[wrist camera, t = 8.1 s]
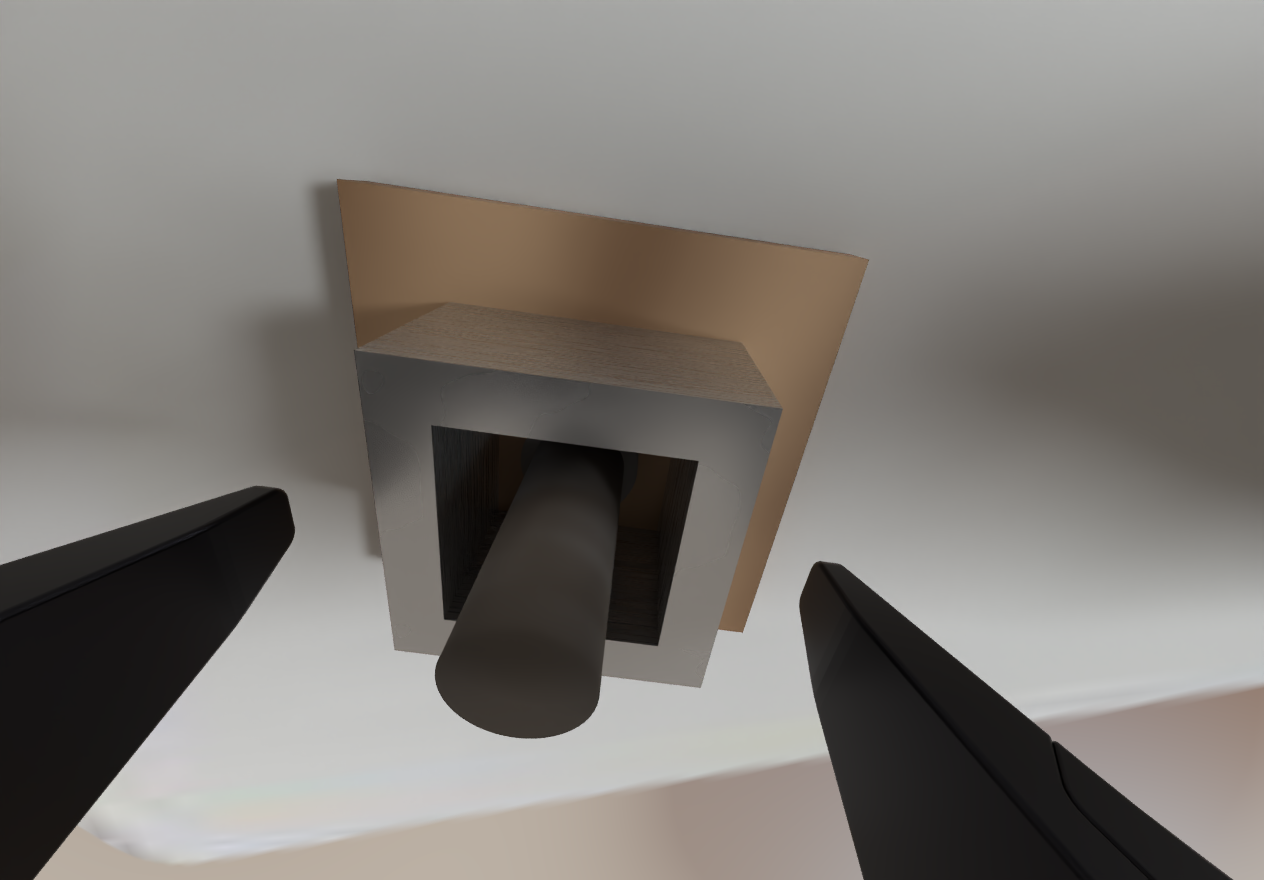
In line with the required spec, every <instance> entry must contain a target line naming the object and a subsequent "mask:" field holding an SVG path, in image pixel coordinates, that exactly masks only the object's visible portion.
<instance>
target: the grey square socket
mask: <svg viewBox="0 0 1264 880" xmlns="http://www.w3.org/2000/svg"><path fill="white" fill-rule="evenodd" d="M354 353H355V360H356V368H357V375H358V382H359V390H360V397H361V405H362V412H363V419H364V427H365V434H366V442H367V449H368V456H369V464H370V471H371V479H372V486H373V493H374V501H375V508H376V516H377V523H378V530H379V538H380V545H381V553H382V560H383V567H384V575H385V582H386V590H387V597H388V604H389V612H390V619H391V627H392V634H393V641H394V649H395V650H398V651H406V652H414V653H422V654H430V655H438V656H440V655H441V653H442V651H443V649H444V647H445V644H446V642H447V640H448V638H449V636H450V634H451V632H452V629H453V627H454V625H455V623H456V621H457V619H458V617H459V614H460V612H461V610H462V608H463V606H464V604H465V602H466V600H467V597H468V595H469V593H470V591H471V589H472V587H473V585H474V582H475V580H476V578H477V576H478V574H479V572H480V570H481V567H482V565H483V563H484V561H485V559H486V557H487V555H488V552H489V550H490V548H491V546H492V544H493V542H494V540H495V538H496V535H497V533H498V531H499V529H500V527H501V525H502V523H503V520H504V518H505V516H506V514H507V512H508V511H501V510H498V507H499V434H501V435H508V436H516V437H523V438H531V439H538V440H546V441H553V442H561V443H568V444H576V445H583V446H591V447H598V448H606V449H613V450H621V451H628V452H636V453H643V454H651V455H658V456H666V457H671V459H670V464H669V470H668V475H667V480H666V485H665V491H664V496H663V501H662V507H661V512H660V517H659V522H658V528H657V531H655V530H647V529H639V528H632V527H624V526H618V530H617V539H616V548H615V557H614V566H613V575H612V585H611V594H610V603H609V612H608V621H607V630H606V639H605V649H604V658H603V667H602V676H609V677H617V678H625V679H633V680H641V681H649V682H657V683H666V684H674V685H682V686H690V687H698V688H701V685H702V681H703V678H704V675H705V671H706V668H707V665H708V661H709V658H710V654H711V651H712V648H713V644H714V641H715V637H716V634H717V631H718V627H719V624H720V620H721V617H722V614H723V610H724V607H725V604H726V600H727V597H728V593H729V590H730V587H731V583H732V580H733V576H734V573H735V570H736V566H737V563H738V559H739V556H740V553H741V549H742V546H743V543H744V539H745V536H746V532H747V529H748V526H749V522H750V519H751V515H752V512H753V509H754V505H755V502H756V498H757V495H758V492H759V488H760V485H761V482H762V478H763V475H764V471H765V468H766V465H767V461H768V458H769V454H770V451H771V448H772V444H773V441H774V437H775V434H776V431H777V427H778V424H779V421H780V417H781V414H782V410H783V408H782V406H781V405H780V403H779V402H778V400H777V398H776V397H775V395H774V393H773V392H772V390H771V389H770V387H769V385H768V384H767V382H766V381H765V379H764V377H763V376H762V374H761V372H760V371H759V369H758V368H757V366H756V364H755V363H754V361H753V359H752V358H751V356H750V355H749V353H748V351H747V350H746V348H745V347H744V345H743V343H742V342H735V341H728V340H721V339H713V338H706V337H699V336H692V335H685V334H678V333H670V332H663V331H656V330H649V329H642V328H634V327H627V326H620V325H613V324H606V323H599V322H591V321H584V320H577V319H570V318H563V317H556V316H548V315H541V314H534V313H527V312H520V311H512V310H505V309H498V308H491V307H484V306H477V305H469V304H462V303H455V302H449V303H447V304H445V305H443V306H441V307H439V308H437V309H435V310H433V311H431V312H429V313H427V314H425V315H423V316H421V317H419V318H417V319H415V320H413V321H411V322H409V323H407V324H405V325H403V326H401V327H399V328H397V329H395V330H393V331H391V332H389V333H387V334H385V335H383V336H381V337H379V338H377V339H375V340H373V341H371V342H369V343H367V344H366V345H364V346H362V347H360V348H358V349H356V350H354Z"/></svg>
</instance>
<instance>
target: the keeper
mask: <svg viewBox="0 0 1264 880" xmlns="http://www.w3.org/2000/svg"><path fill="white" fill-rule="evenodd" d="M337 186H338V194H339V202H340V210H341V218H342V226H343V234H344V242H345V250H346V258H347V266H348V274H349V282H350V290H351V298H352V306H353V314H354V322H355V330H356V338H357V346H358V348H360V347H362V346H364V345H366V344H367V343H369V342H371V341H373V340H375V339H377V338H379V337H381V336H383V335H385V334H387V333H389V332H391V331H393V330H395V329H397V328H399V327H401V326H403V325H405V324H407V323H409V322H411V321H413V320H415V319H417V318H419V317H421V316H423V315H425V314H427V313H429V312H431V311H433V310H435V309H437V308H439V307H441V306H443V305H445V304H447V303H449V302H455V303H462V304H469V305H477V306H484V307H491V308H498V309H505V310H512V311H520V312H527V313H534V314H541V315H548V316H556V317H563V318H570V319H577V320H584V321H591V322H599V323H606V324H613V325H620V326H627V327H634V328H642V329H649V330H656V331H663V332H670V333H678V334H685V335H692V336H699V337H706V338H713V339H721V340H728V341H735V342H742V343H743V345H744V347H745V348H746V350H747V351H748V353H749V355H750V356H751V358H752V359H753V361H754V363H755V364H756V366H757V368H758V369H759V371H760V372H761V374H762V376H763V377H764V379H765V381H766V382H767V384H768V385H769V387H770V389H771V390H772V392H773V393H774V395H775V397H776V398H777V400H778V402H779V403H780V405H781V406H782V408H783V410H782V414H781V417H780V421H779V424H778V427H777V431H776V434H775V437H774V441H773V444H772V448H771V451H770V454H769V458H768V461H767V465H766V468H765V471H764V475H763V478H762V482H761V485H760V488H759V492H758V495H757V498H756V502H755V505H754V509H753V512H752V515H751V519H750V522H749V526H748V529H747V532H746V536H745V539H744V543H743V546H742V549H741V553H740V556H739V559H738V563H737V566H736V570H735V573H734V576H733V580H732V583H731V587H730V590H729V593H728V597H727V600H726V604H725V607H724V610H723V614H722V617H721V620H720V624H719V627H718V629H720V630H727V631H735V632H742V633H743V630H744V627H745V624H746V621H747V618H748V615H749V613H750V610H751V607H752V604H753V601H754V598H755V595H756V592H757V589H758V586H759V583H760V580H761V577H762V574H763V571H764V568H765V565H766V562H767V559H768V556H769V554H770V551H771V548H772V545H773V542H774V539H775V536H776V533H777V530H778V527H779V524H780V521H781V518H782V515H783V512H784V509H785V506H786V503H787V500H788V497H789V494H790V492H791V489H792V486H793V483H794V480H795V477H796V474H797V471H798V468H799V465H800V462H801V459H802V456H803V453H804V450H805V447H806V444H807V441H808V438H809V435H810V432H811V430H812V427H813V424H814V421H815V418H816V415H817V412H818V409H819V406H820V403H821V400H822V397H823V394H824V391H825V388H826V385H827V382H828V379H829V376H830V373H831V371H832V368H833V365H834V362H835V359H836V356H837V353H838V350H839V347H840V344H841V341H842V338H843V335H844V332H845V329H846V326H847V323H848V320H849V317H850V314H851V311H852V309H853V306H854V303H855V300H856V297H857V294H858V291H859V288H860V285H861V282H862V279H863V276H864V273H865V270H866V267H867V264H868V261H869V260H868V259H864V258H861V257H857V256H853V255H850V254H843V253H837V252H830V251H824V250H817V249H810V248H804V247H797V246H791V245H784V244H777V243H771V242H764V241H758V240H751V239H744V238H738V237H731V236H725V235H718V234H711V233H705V232H698V231H692V230H685V229H678V228H672V227H665V226H659V225H652V224H645V223H639V222H632V221H626V220H619V219H612V218H606V217H599V216H593V215H586V214H580V213H573V212H566V211H560V210H553V209H547V208H540V207H533V206H527V205H520V204H514V203H507V202H500V201H494V200H487V199H481V198H474V197H467V196H461V195H454V194H448V193H441V192H434V191H428V190H421V189H415V188H408V187H401V186H395V185H388V184H382V183H375V182H368V181H356V180H341V179H337ZM670 459H671V457H666V456H658V455H651V454H643V453H636V452H628V451H621V450H613V449H606V448H598V447H591V446H583V445H576V444H568V443H561V442H553V441H546V440H538V439H531V438H523V437H516V436H508V435H501V434H499V507H498V510H501V511H508V512H507V514H506V516H505V518H504V520H503V523H502V525H501V527H500V529H499V531H498V533H497V535H496V538H495V540H494V542H493V544H492V546H491V548H490V550H489V552H488V555H487V557H486V559H485V561H484V563H483V565H482V567H481V570H480V572H479V574H478V576H477V578H476V580H475V582H474V585H473V587H472V589H471V591H470V593H469V595H468V597H467V600H466V602H465V604H464V606H463V608H462V610H461V612H460V614H459V617H458V619H457V621H456V623H455V625H454V627H453V629H452V632H451V634H450V636H449V638H448V640H447V642H446V644H445V647H444V649H443V651H442V653H441V655H440V657H439V659H438V662H437V664H436V669H435V680H436V685H437V688H438V691H439V693H440V695H441V696H442V698H443V700H444V701H445V702H446V704H447V705H448V706H449V707H450V708H451V709H452V710H453V711H454V712H455V713H457V714H458V715H459V716H460V717H462V718H463V719H465V720H466V721H468V722H469V723H471V724H473V725H475V726H477V727H479V728H482V729H484V730H486V731H489V732H492V733H495V734H499V735H503V736H509V737H515V738H546V737H551V736H556V735H560V734H563V733H566V732H568V731H571V730H573V729H575V728H576V727H578V726H580V725H581V724H582V723H584V722H585V721H586V720H587V719H588V718H589V717H590V716H591V715H592V713H593V712H594V710H595V708H596V706H597V704H598V700H599V694H600V685H601V676H602V667H603V658H604V649H605V639H606V630H607V621H608V612H609V603H610V594H611V585H612V575H613V566H614V557H615V548H616V539H617V530H618V526H624V527H632V528H639V529H647V530H655V531H657V528H658V522H659V517H660V512H661V507H662V501H663V496H664V491H665V485H666V480H667V475H668V470H669V464H670Z"/></svg>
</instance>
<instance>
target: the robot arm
mask: <svg viewBox="0 0 1264 880" xmlns="http://www.w3.org/2000/svg"><path fill="white" fill-rule="evenodd" d="M294 534H295V526H294V522H293V517H292V513H291V509H290V504H289V500H288V496H287V494H286V493H285V491H284V490H282V489H279V488H272V487H265V486H253V487H249V488H246V489H243V490H240V491H237V492H233V493H230V494H227V495H224V496H221V497H217V498H214V499H211V500H208V501H205V502H201V503H198V504H195V505H192V506H189V507H185V508H182V509H179V510H176V511H172V512H169V513H166V514H163V515H160V516H156V517H153V518H150V519H147V520H144V521H140V522H137V523H134V524H131V525H128V526H124V527H121V528H118V529H115V530H111V531H108V532H105V533H102V534H99V535H95V536H92V537H89V538H86V539H83V540H79V541H76V542H73V543H70V544H67V545H63V546H60V547H57V548H54V549H50V550H47V551H44V552H41V553H38V554H34V555H31V556H28V557H25V558H22V559H18V560H15V561H12V562H9V563H6V564H2V565H0V880H33V879H34V878H35V877H36V876H37V874H38V873H39V872H40V871H41V869H42V868H43V867H44V866H45V864H46V863H47V862H48V861H49V859H50V858H51V857H52V856H53V854H54V853H55V852H56V851H57V849H58V848H59V847H60V846H61V844H62V843H63V842H64V841H65V839H66V838H67V837H68V835H69V834H70V833H71V832H72V831H73V829H74V828H75V827H76V826H77V824H78V823H79V822H80V821H81V819H82V818H83V817H84V816H85V814H86V813H87V812H88V811H89V810H90V808H91V807H92V806H93V805H94V803H95V802H96V801H97V800H98V798H99V797H100V796H101V795H102V793H103V792H104V791H105V790H106V788H107V787H108V786H109V785H110V783H111V782H112V781H113V780H114V778H115V777H116V776H117V775H118V773H119V772H120V771H121V770H122V768H123V767H124V766H125V765H126V763H127V762H128V761H129V760H130V758H131V757H132V756H133V755H134V753H135V752H136V751H137V750H138V748H139V747H140V746H141V745H142V743H143V742H144V741H145V740H146V738H147V737H148V736H149V735H150V733H151V732H152V731H153V730H154V728H155V727H156V726H157V725H158V723H159V722H160V721H161V720H162V718H163V717H164V716H165V715H166V713H167V712H168V711H169V710H170V708H171V707H172V706H173V705H174V703H175V702H176V701H177V700H178V698H179V697H180V696H181V695H182V694H183V692H184V691H185V690H186V689H187V687H188V686H189V685H190V684H191V682H192V681H193V680H194V679H195V677H196V676H197V675H198V674H199V672H200V671H201V670H202V669H203V667H204V666H205V665H206V664H207V662H208V661H209V660H210V659H211V657H212V656H213V655H214V654H215V652H216V651H217V650H218V649H219V647H220V646H221V645H222V644H223V642H224V641H225V640H226V639H227V637H228V636H229V635H230V633H231V632H232V631H233V630H234V628H235V627H236V626H237V624H238V623H239V621H240V620H241V619H242V617H243V616H244V614H245V613H246V611H247V610H248V609H249V607H250V606H251V604H252V602H253V601H254V599H255V598H256V596H257V595H258V593H259V592H260V590H261V589H262V587H263V586H264V584H265V583H266V581H267V580H268V578H269V577H270V575H271V574H272V572H273V570H274V569H275V567H276V566H277V564H278V563H279V561H280V560H281V558H282V557H283V555H284V554H285V552H286V551H287V549H288V548H289V546H290V545H291V543H292V540H293V538H294ZM799 608H800V615H801V622H802V628H803V634H804V640H805V646H806V653H807V659H808V665H809V671H810V677H811V683H812V688H813V694H814V698H815V702H816V706H817V710H818V714H819V718H820V722H821V725H822V729H823V732H824V736H825V740H826V743H827V747H828V751H829V754H830V758H831V762H832V765H833V769H834V773H835V776H836V780H837V784H838V787H839V791H840V794H841V798H842V802H843V806H844V809H845V813H846V816H847V820H848V824H849V828H850V831H851V835H852V838H853V842H854V846H855V849H856V853H857V857H858V860H859V864H860V868H861V871H862V875H863V879H864V880H1233V879H1232V878H1230V877H1229V876H1228V875H1226V874H1225V873H1224V872H1222V871H1221V870H1220V869H1218V868H1217V867H1216V866H1214V865H1213V864H1212V863H1210V862H1209V861H1208V860H1206V859H1205V858H1204V857H1202V856H1201V855H1200V854H1198V853H1197V852H1196V851H1194V850H1193V849H1192V848H1191V847H1189V846H1188V845H1187V844H1185V843H1184V842H1182V841H1181V840H1180V839H1179V838H1177V837H1176V836H1175V835H1174V834H1172V833H1171V832H1170V831H1168V830H1167V829H1166V828H1164V827H1163V826H1162V825H1160V824H1159V823H1158V822H1157V821H1155V820H1154V819H1153V818H1151V817H1150V816H1149V815H1147V814H1146V813H1145V812H1143V811H1142V810H1141V809H1140V808H1138V807H1137V806H1136V805H1135V804H1133V803H1132V802H1131V801H1130V800H1128V799H1127V798H1126V797H1125V796H1123V795H1122V794H1121V793H1120V792H1118V791H1117V790H1116V789H1115V788H1113V787H1112V786H1111V785H1110V784H1108V783H1107V782H1106V781H1105V780H1103V779H1102V778H1101V777H1100V776H1098V775H1097V774H1096V773H1095V772H1093V771H1092V770H1091V769H1090V768H1088V767H1087V766H1086V765H1085V764H1084V763H1082V762H1081V761H1080V760H1079V759H1078V758H1076V757H1075V756H1074V755H1073V754H1072V753H1070V752H1069V751H1068V750H1067V749H1065V748H1064V747H1063V746H1062V745H1060V744H1059V743H1058V742H1056V741H1052V740H1051V737H1050V736H1049V735H1048V734H1047V733H1046V732H1045V731H1043V730H1042V729H1041V728H1040V727H1039V726H1037V725H1036V724H1035V723H1034V722H1032V721H1031V720H1030V719H1029V718H1028V717H1026V716H1025V715H1024V714H1023V713H1021V712H1020V711H1019V710H1018V709H1017V708H1015V707H1014V706H1013V705H1012V704H1011V703H1009V702H1008V701H1007V700H1006V699H1004V698H1003V697H1002V696H1001V695H1000V694H998V693H997V692H996V691H995V690H993V689H992V688H991V687H990V686H989V685H987V684H986V683H985V682H984V681H983V680H981V679H980V678H979V677H978V676H976V675H975V674H974V673H973V672H972V671H970V670H969V669H968V668H967V667H965V666H964V665H963V664H962V663H961V662H959V661H958V660H957V659H956V658H955V657H953V656H952V655H951V654H950V653H948V652H947V651H946V650H945V649H944V648H942V647H941V646H940V645H939V644H937V643H936V642H935V641H934V640H933V639H931V638H930V637H929V636H928V635H927V634H925V633H924V632H923V631H922V630H920V629H919V628H918V627H917V626H916V625H914V624H913V623H912V622H911V621H909V620H908V619H907V618H906V617H905V616H903V615H902V614H901V613H900V612H899V611H897V610H896V609H895V608H894V607H892V606H891V605H890V604H889V603H888V602H886V601H885V600H884V599H883V598H882V597H880V596H879V595H878V594H877V593H875V592H874V591H873V590H872V589H871V588H869V587H868V586H867V585H866V584H864V583H863V582H862V581H861V580H860V579H858V578H857V577H856V576H855V575H854V574H852V573H851V572H850V571H849V570H847V569H846V568H845V567H844V566H842V565H840V564H837V563H830V562H822V561H819V562H816V563H815V564H814V565H813V567H812V568H811V571H810V573H809V576H808V579H807V581H806V584H805V586H804V589H803V591H802V594H801V597H800V603H799Z"/></svg>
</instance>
